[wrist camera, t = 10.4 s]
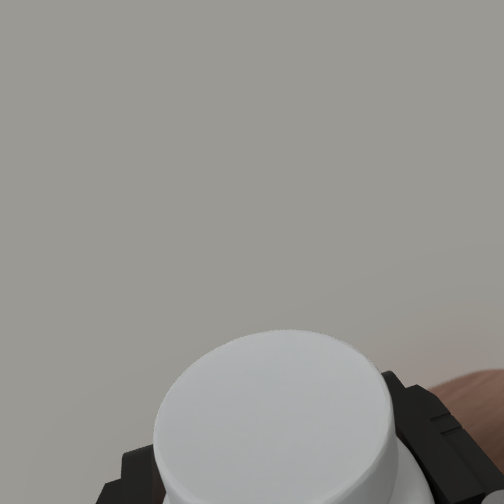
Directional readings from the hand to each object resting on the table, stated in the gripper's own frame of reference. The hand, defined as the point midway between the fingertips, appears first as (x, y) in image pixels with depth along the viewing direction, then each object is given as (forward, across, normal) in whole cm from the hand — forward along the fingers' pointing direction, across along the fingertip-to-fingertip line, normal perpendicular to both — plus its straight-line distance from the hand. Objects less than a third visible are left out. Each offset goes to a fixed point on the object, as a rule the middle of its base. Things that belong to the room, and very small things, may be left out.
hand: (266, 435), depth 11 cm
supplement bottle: (-3, 0, +6) cm, 7 cm away
